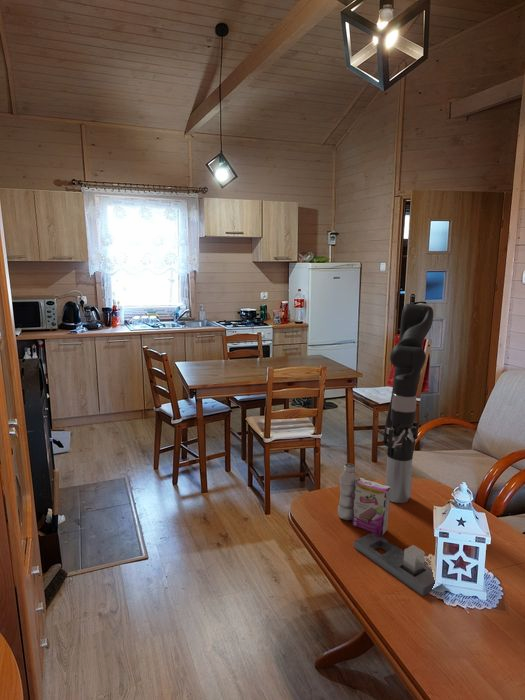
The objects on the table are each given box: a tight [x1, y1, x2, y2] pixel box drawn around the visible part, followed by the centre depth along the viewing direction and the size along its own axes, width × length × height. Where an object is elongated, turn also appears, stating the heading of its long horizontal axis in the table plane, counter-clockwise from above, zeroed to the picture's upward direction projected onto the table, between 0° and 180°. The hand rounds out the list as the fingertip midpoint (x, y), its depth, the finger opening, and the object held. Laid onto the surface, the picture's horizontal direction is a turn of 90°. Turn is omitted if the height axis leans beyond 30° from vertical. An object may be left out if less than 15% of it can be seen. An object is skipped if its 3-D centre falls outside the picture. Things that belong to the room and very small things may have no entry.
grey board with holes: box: [353, 532, 435, 597], centre depth 139 cm, size 9×26×2 cm, turn 34°
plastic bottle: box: [337, 463, 359, 521], centre depth 163 cm, size 6×7×20 cm
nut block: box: [403, 544, 426, 577], centre depth 134 cm, size 4×4×8 cm
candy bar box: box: [351, 477, 391, 537], centre depth 157 cm, size 11×5×16 cm, turn 56°
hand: (399, 454), depth 151 cm, fingers open, 8 cm apart
